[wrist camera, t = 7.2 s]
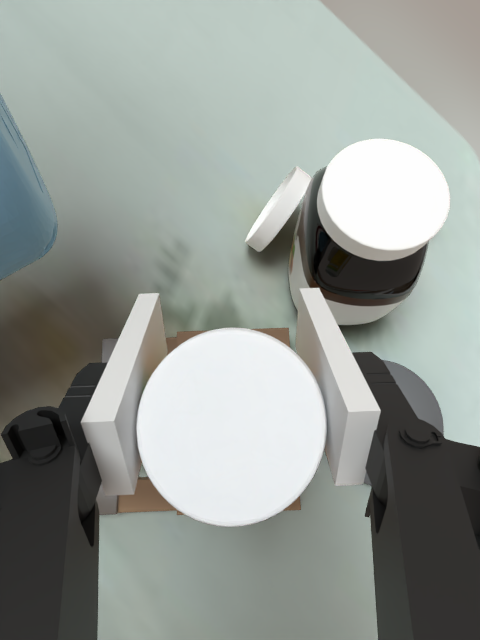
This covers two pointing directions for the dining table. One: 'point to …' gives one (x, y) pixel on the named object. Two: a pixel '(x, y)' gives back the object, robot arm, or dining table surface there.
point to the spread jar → (359, 226)
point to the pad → (415, 397)
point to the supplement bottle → (231, 427)
